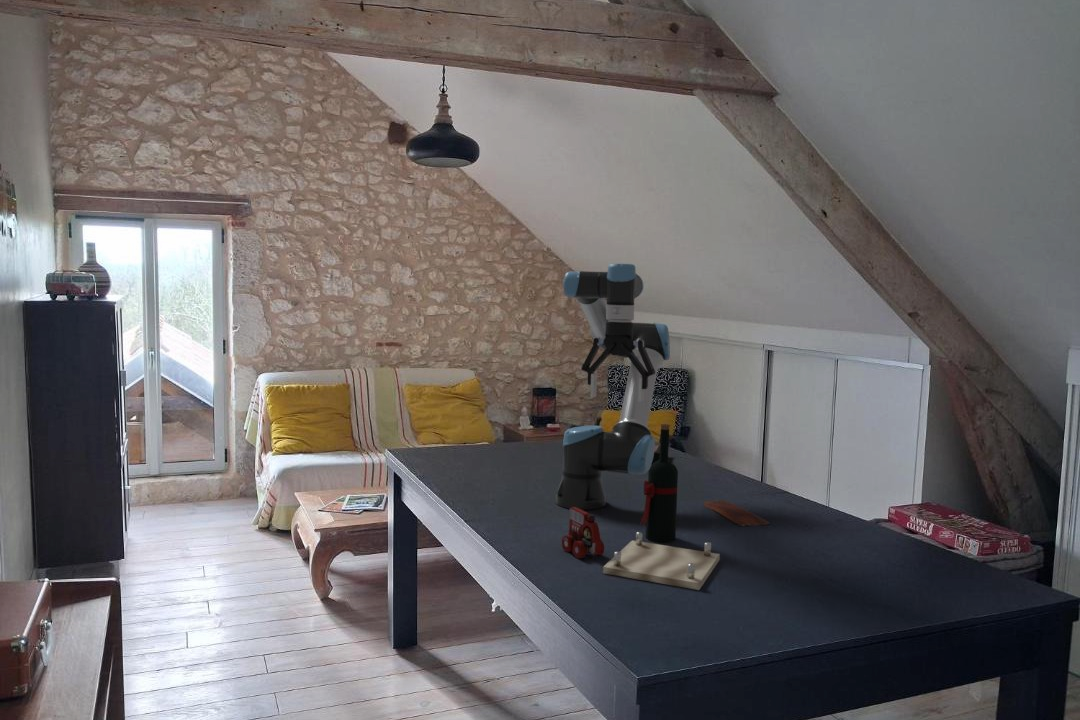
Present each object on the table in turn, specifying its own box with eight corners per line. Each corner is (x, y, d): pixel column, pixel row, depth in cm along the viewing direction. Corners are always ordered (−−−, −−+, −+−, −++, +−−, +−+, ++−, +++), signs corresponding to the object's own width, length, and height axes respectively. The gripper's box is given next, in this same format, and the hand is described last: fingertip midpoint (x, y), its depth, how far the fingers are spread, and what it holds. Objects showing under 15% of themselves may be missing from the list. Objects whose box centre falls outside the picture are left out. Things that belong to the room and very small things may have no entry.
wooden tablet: (771, 527, 227) (772, 521, 227) (739, 528, 225) (739, 522, 224) (727, 502, 253) (727, 496, 253) (697, 503, 250) (698, 497, 250)
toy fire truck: (584, 563, 191) (586, 520, 190) (557, 548, 202) (559, 507, 201) (609, 559, 194) (610, 516, 193) (581, 544, 205) (582, 504, 204)
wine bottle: (632, 537, 212) (636, 423, 209) (662, 532, 217) (667, 421, 214) (651, 545, 205) (655, 428, 202) (682, 540, 210) (687, 426, 208)
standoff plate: (603, 573, 184) (603, 553, 184) (631, 546, 204) (632, 528, 204) (699, 590, 175) (700, 569, 175) (719, 560, 196) (720, 541, 195)
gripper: (571, 319, 221) (569, 396, 222) (661, 323, 211) (657, 404, 213) (581, 318, 227) (578, 394, 229) (668, 322, 218) (665, 401, 219)
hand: (616, 399), depth 221 cm, fingers open, 13 cm apart
